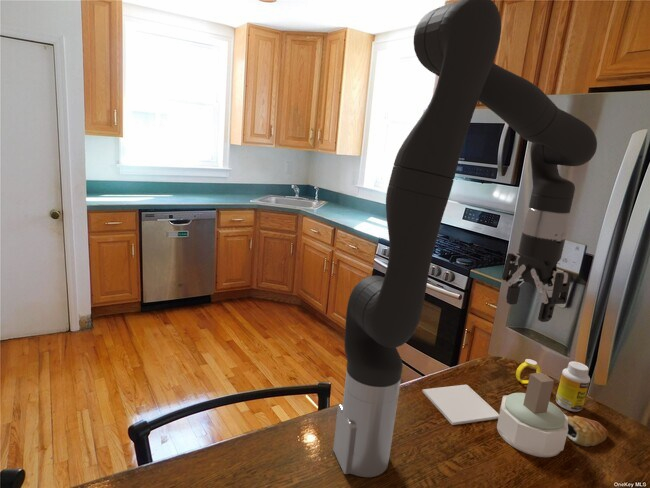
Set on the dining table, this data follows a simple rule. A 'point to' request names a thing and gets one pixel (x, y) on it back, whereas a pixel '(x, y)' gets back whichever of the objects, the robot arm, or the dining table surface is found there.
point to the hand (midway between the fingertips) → (526, 312)
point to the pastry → (585, 431)
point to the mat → (460, 404)
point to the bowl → (530, 435)
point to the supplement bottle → (573, 386)
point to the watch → (527, 363)
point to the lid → (536, 404)
